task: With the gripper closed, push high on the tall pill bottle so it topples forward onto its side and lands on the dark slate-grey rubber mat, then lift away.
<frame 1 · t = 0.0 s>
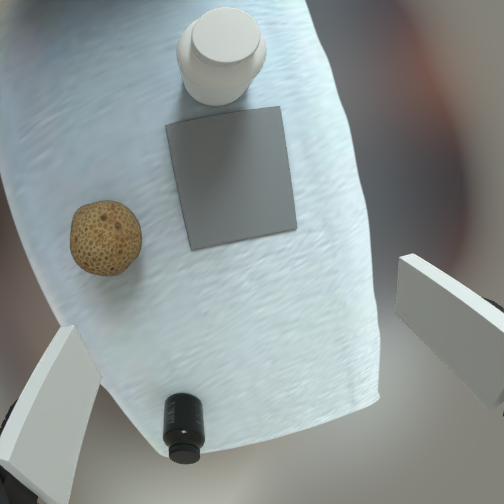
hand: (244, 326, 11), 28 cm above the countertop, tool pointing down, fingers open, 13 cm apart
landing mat: (233, 177, 36), on the countertop
pill bottle: (216, 77, 32), on the countertop
supplement bottle: (183, 403, 48), on the countertop
natural sponge: (117, 226, 36), on the countertop
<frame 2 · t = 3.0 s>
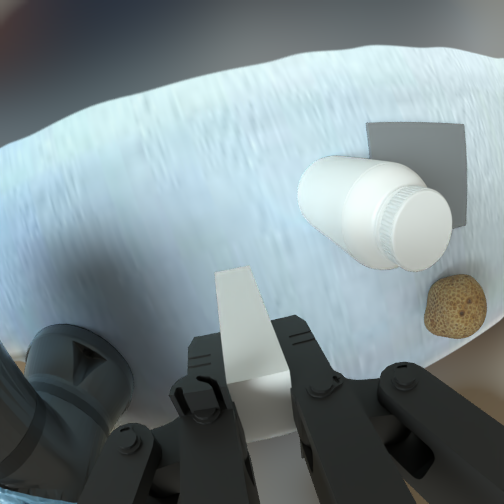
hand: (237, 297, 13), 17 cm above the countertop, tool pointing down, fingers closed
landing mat: (425, 179, 31), on the countertop
pill bottle: (330, 192, 30), on the countertop
natural sponge: (434, 289, 37), on the countertop
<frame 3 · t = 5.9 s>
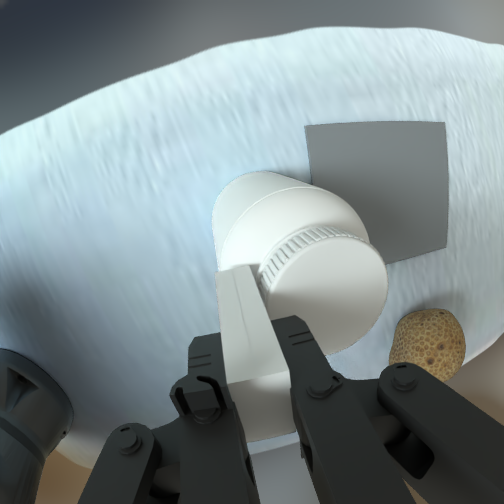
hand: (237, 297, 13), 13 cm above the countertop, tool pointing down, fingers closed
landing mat: (390, 194, 26), on the countertop
pill bottle: (257, 216, 25), on the countertop, touching gripper
natural sponge: (405, 322, 32), on the countertop
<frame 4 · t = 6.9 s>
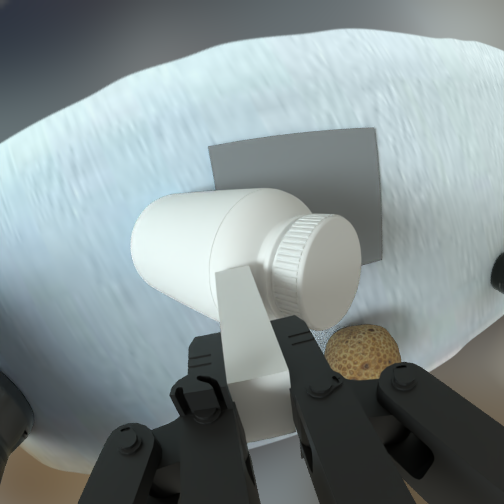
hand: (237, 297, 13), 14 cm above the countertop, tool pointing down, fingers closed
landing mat: (308, 208, 27), on the countertop
pill bottle: (171, 242, 24), point 2 cm above the countertop, touching gripper
supplement bottle: (499, 268, 38), on the countertop
natural sponge: (341, 337, 34), on the countertop
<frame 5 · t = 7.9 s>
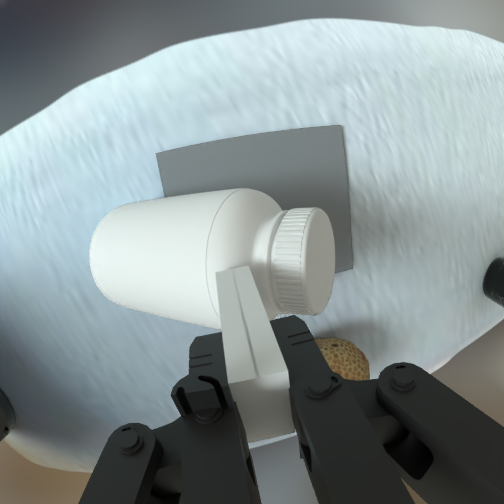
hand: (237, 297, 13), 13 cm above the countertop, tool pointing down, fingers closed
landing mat: (265, 214, 26), on the countertop
pill bottle: (126, 255, 22), point 3 cm above the countertop, touching gripper
supplement bottle: (492, 275, 36), on the countertop
natural sponge: (310, 348, 32), on the countertop
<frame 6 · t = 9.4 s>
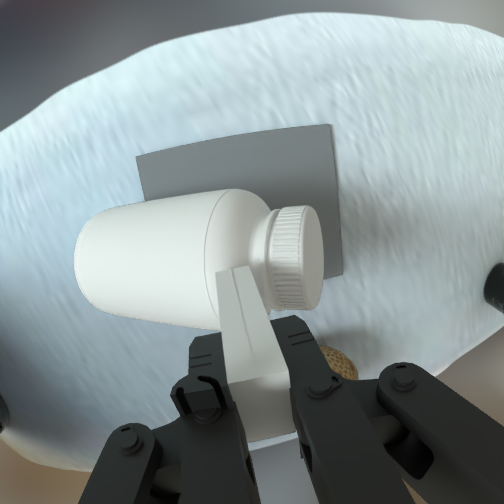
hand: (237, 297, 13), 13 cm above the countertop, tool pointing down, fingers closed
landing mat: (248, 218, 25), on the countertop
pill bottle: (110, 260, 21), point 3 cm above the countertop, touching gripper
supplement bottle: (494, 281, 35), on the countertop
natural sponge: (299, 355, 31), on the countertop
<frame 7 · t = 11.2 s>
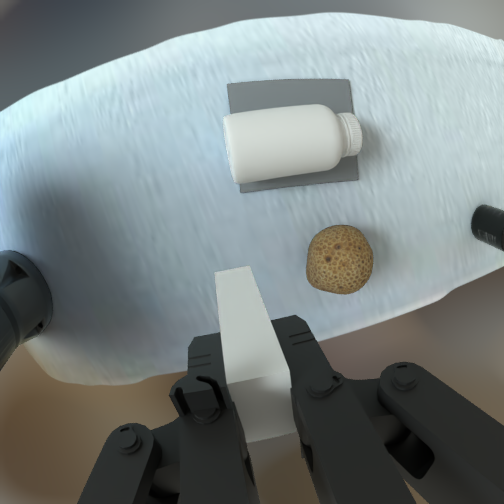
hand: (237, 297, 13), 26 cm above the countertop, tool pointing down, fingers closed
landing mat: (296, 131, 36), on the countertop
pill bottle: (225, 150, 31), point 4 cm above the countertop, touching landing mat
supplement bottle: (479, 220, 44), on the countertop
natural sponge: (326, 245, 42), on the countertop
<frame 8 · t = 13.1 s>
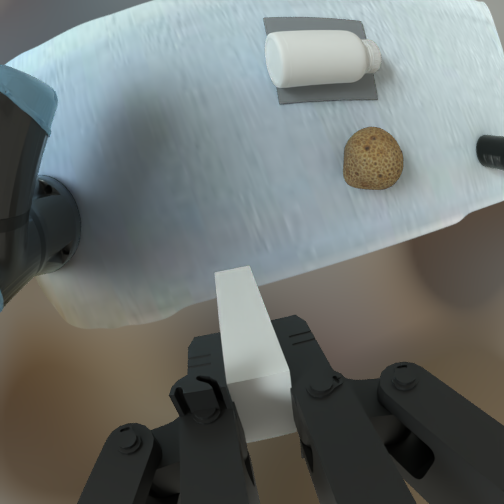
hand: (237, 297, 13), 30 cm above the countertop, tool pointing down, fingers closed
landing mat: (323, 57, 37), on the countertop
pill bottle: (270, 60, 32), point 4 cm above the countertop, touching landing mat
supplement bottle: (483, 150, 46), on the countertop
natural sponge: (356, 156, 43), on the countertop
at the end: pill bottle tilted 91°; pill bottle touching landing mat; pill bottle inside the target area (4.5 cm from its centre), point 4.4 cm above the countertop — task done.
